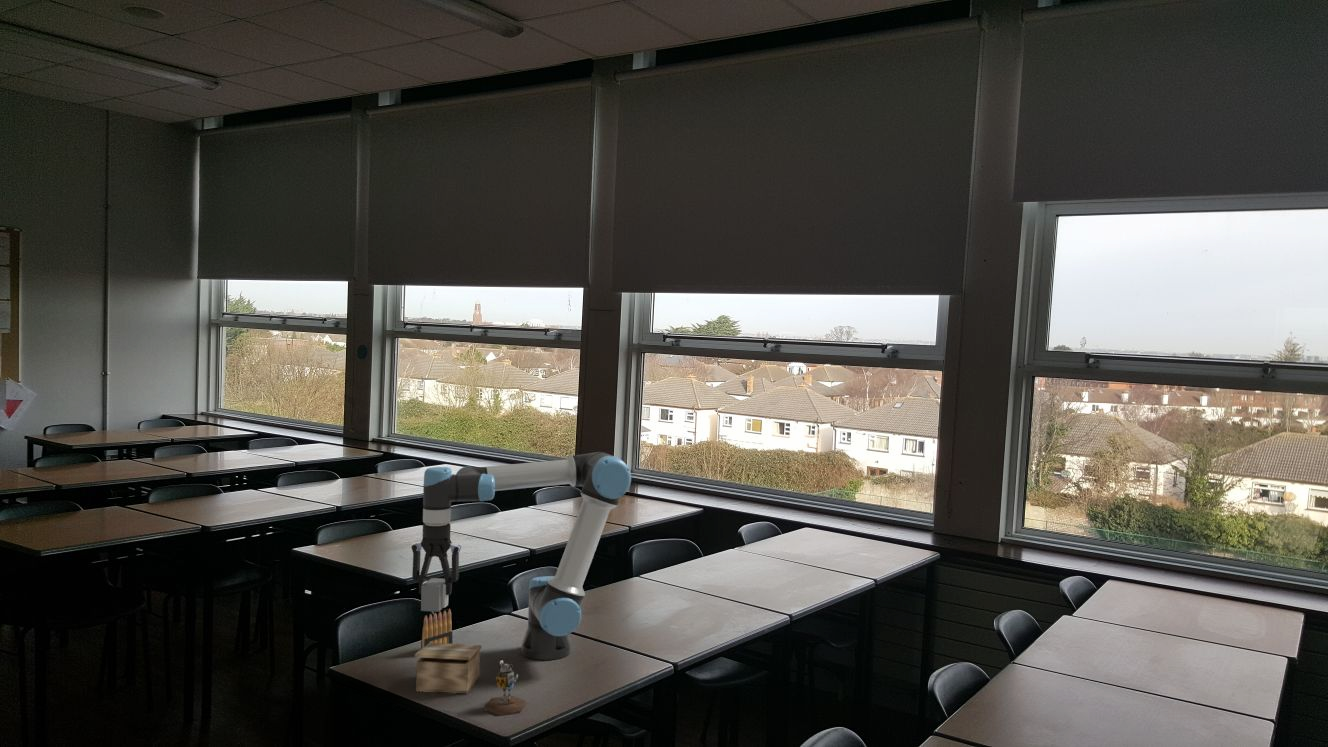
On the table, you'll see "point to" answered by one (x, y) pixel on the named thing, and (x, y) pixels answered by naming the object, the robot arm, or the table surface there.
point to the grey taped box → (432, 595)
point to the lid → (448, 651)
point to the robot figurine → (509, 702)
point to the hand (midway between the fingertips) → (435, 605)
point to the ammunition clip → (437, 629)
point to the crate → (447, 674)
